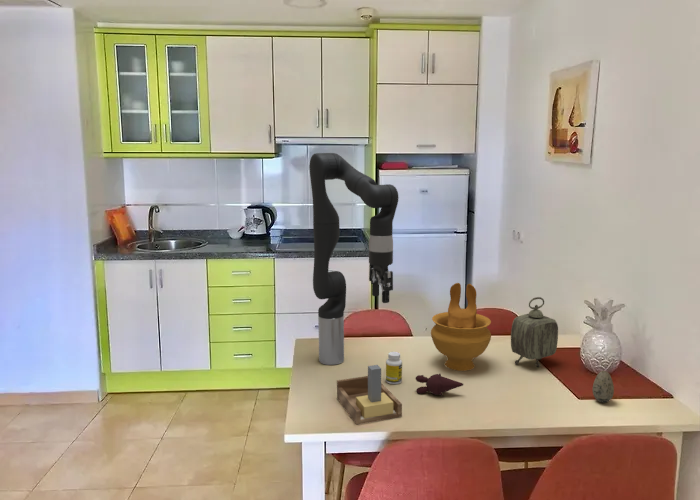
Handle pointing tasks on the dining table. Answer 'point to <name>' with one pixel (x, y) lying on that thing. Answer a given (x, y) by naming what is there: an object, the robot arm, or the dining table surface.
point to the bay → (359, 387)
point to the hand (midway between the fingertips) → (380, 299)
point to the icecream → (436, 384)
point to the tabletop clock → (534, 335)
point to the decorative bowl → (461, 331)
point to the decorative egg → (603, 387)
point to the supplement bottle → (393, 368)
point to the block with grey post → (374, 396)
